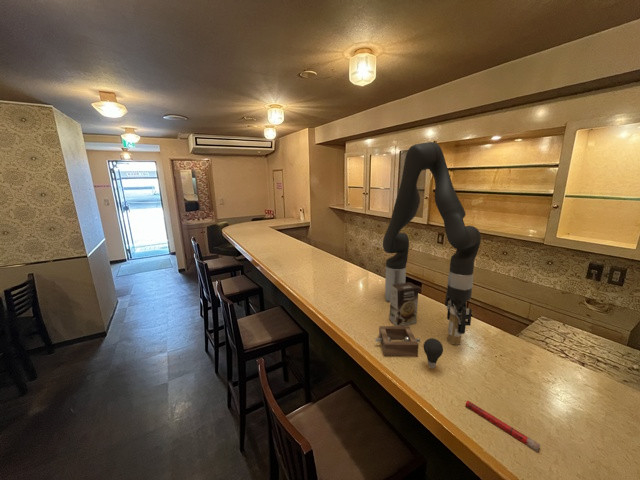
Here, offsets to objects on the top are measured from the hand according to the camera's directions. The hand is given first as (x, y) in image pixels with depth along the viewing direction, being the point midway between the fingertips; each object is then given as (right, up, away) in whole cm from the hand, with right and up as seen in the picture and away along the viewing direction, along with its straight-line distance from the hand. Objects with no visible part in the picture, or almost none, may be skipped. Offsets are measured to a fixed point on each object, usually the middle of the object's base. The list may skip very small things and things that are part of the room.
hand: (455, 326), depth 92 cm
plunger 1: (-26, -6, 0) cm, 27 cm away
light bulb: (-13, -10, -11) cm, 19 cm away
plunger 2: (-16, -6, -1) cm, 17 cm away
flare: (-5, -15, -30) cm, 34 cm away
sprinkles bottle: (0, -6, +2) cm, 7 cm away
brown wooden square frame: (-21, -7, 0) cm, 22 cm away
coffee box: (-14, -3, +15) cm, 21 cm away
